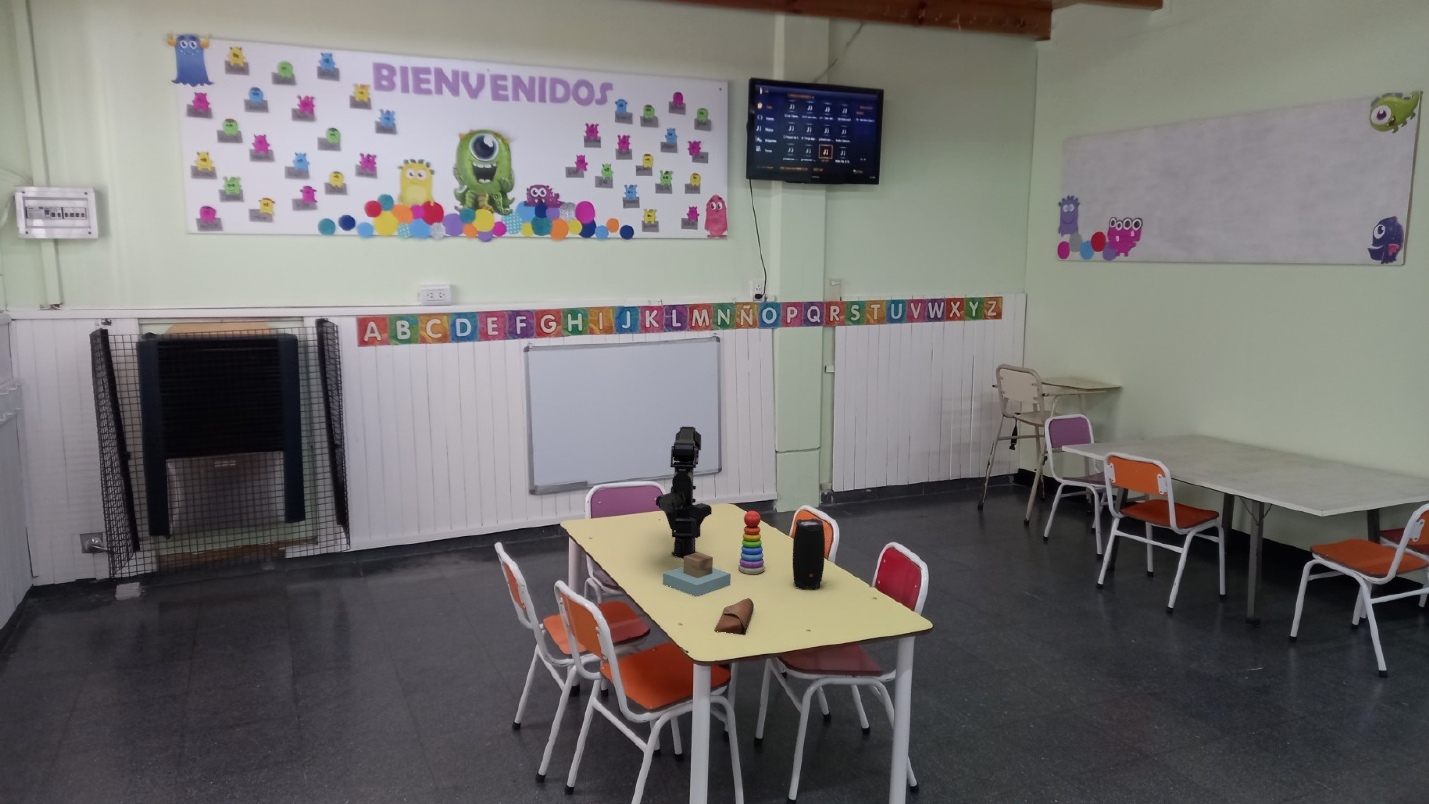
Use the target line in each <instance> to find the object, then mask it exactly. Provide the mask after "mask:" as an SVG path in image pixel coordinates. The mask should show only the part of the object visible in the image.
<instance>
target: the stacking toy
mask: <svg viewBox="0 0 1429 804" xmlns="http://www.w3.org/2000/svg"><path fill="white" fill-rule="evenodd" d="M743 521H744V522H743V523H744V524H745V527H743V532H744V533H743V535H742V541H741V544H742V546H741V548H740V549H741V552H740V558H739V564H738V565H739V566H738V570H739V571H740V572H741V573H744V574H747V575H757V574H761V573H763V572H764V571H765V570H766V569H765V568H766V567H765V565H764V563H765V560H764V553H763V551H764V549H763V546H762V543H763V542H762V540H761V538H762V535H761V528H760V526H759V524H760V523H761V516H760V514H759V513H758V512H757V511H754V510H749V511H747V512H746V513H745V515H744V516H743Z"/></svg>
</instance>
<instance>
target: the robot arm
mask: <svg viewBox="0 0 1429 804" xmlns="http://www.w3.org/2000/svg"><path fill="white" fill-rule="evenodd" d="M700 451H702V435H701V433H699V432H698V431H697V430H696V427H695V426H680V427H679V431H678V432H677V433H675V441H674V442H673V445H671V450H670V465H669V466H670V468H674V474H673V476H672V480H671V487H670V492H669V493H665V494H660V495H657V497H656V499H655V506H656V507H658V508H659V509H660V510H661V511H663V512H664V514H665V516H666V519H667V523H668V525H669V529H670V530H671V538H674V541H673V542H674V543H673V545H674V546H673V551H671V552H670V553H671V555H674V556H677V557H679V558H682V559H684V556H687V555H690V554H694V553H697V552H698V551H696V539H699V538H700V537H701V526H702V523H703V522H704V520H705V519H706V518H707V517H709V516H711V515H713V513H712V512H713V511H712V506H711V505H709V504H706V503H703V502H700V503H697V504H694V503H696V501H697V499H696V498H695V497H694V491H695V490H697V485H694V470H695V469H696V468H697V465H699V456H700Z"/></svg>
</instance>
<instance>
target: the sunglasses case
mask: <svg viewBox="0 0 1429 804" xmlns="http://www.w3.org/2000/svg"><path fill="white" fill-rule="evenodd" d="M754 606H755V605H754V602H753V599H751V598H744V599H741V600H740V601H738V602H736V603H733V604H731V605H728V606H725V607H724V608H723V611H722V613H721V616H720V617H719V619H718V622H717V624H716V626H715V627H714V630H713V632H714V631H715V632H714V633H721V632H726V633H725V634H731V633H733V634H732V635H742V636H743V635H745V634H746V631H747V629H748V626H749V622H750V620H751V617H752V613H753V611H754ZM717 631H718V632H717Z"/></svg>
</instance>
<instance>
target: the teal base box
mask: <svg viewBox="0 0 1429 804" xmlns="http://www.w3.org/2000/svg"><path fill="white" fill-rule="evenodd" d="M683 567H684V565H683V566H680V567H677V568H675V569H671V570H668V571H665V572H663V573H662V585H663V586H666V585H668V586H667V587H669V586H671V587H672V588H671V587H670V588H671V589H674V588H675V590H678V591H679V590H680V592H683V593H685V594H688V595H690V594H692V595H691V596H693V595H694V596H693V597H696V596H698V597H700V596H699V595H701V596H703V595H702V594H704V595H706V594H709V593H712V592H715V591H717V590H721V589H724V588H726V587H729V586H731V573H730V572H726V571H723V570H721V569H717V568H715V567H713V568H712V574H709V575H706V576H703V577H700V578H696V577H693V576H691V575H688V574H685V573H683Z"/></svg>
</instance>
